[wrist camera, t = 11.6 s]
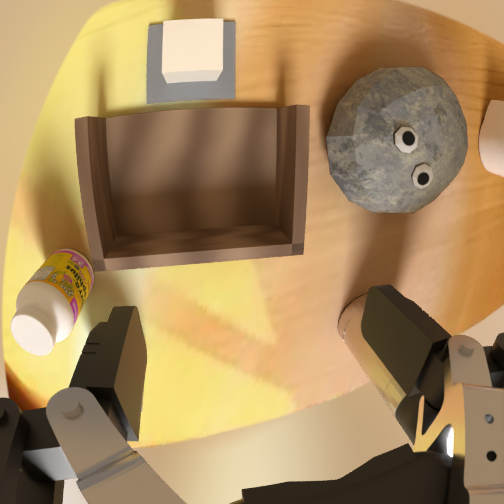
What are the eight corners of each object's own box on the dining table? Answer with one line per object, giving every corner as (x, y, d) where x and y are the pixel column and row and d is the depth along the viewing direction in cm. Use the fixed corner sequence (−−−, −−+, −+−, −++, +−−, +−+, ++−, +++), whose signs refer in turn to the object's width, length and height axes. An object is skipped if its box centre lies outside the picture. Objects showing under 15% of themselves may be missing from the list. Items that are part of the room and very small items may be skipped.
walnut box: (285, 109, 29) (309, 105, 23) (282, 231, 35) (303, 254, 29) (97, 119, 26) (74, 118, 20) (110, 244, 31) (95, 271, 25)
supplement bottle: (102, 290, 33) (75, 362, 22) (60, 299, 32) (24, 366, 21) (84, 240, 30) (41, 299, 19) (41, 252, 30) (-10, 310, 18)
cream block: (216, 37, 24) (223, 18, 19) (216, 80, 26) (222, 69, 21) (167, 39, 24) (163, 20, 18) (167, 83, 26) (161, 72, 20)
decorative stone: (448, 168, 37) (498, 184, 28) (343, 232, 37) (387, 266, 28) (415, 56, 29) (468, 49, 20) (287, 101, 29) (327, 93, 20)
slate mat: (234, 23, 24) (235, 21, 24) (234, 98, 28) (235, 98, 28) (149, 26, 23) (148, 25, 22) (147, 103, 26) (146, 103, 26)
